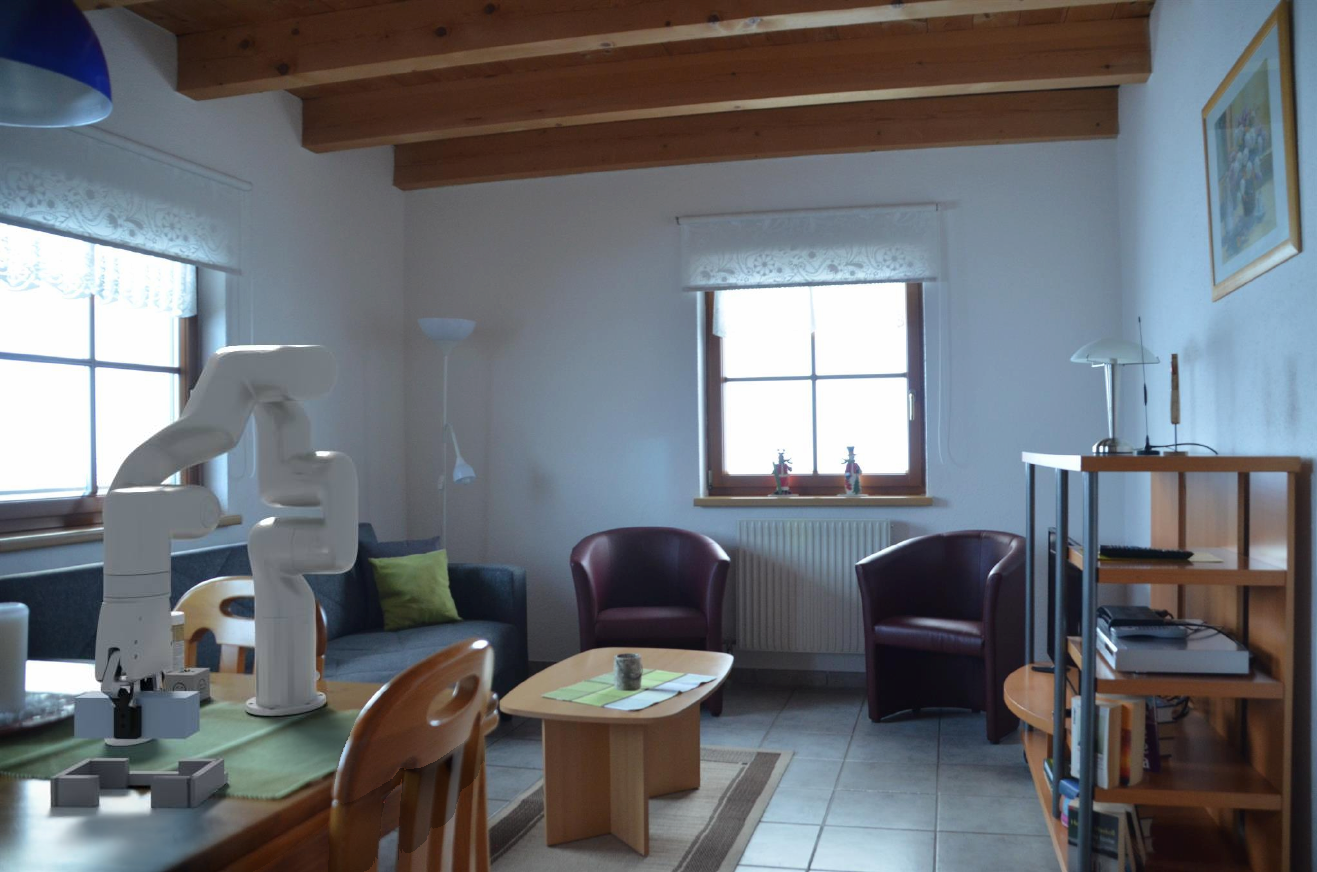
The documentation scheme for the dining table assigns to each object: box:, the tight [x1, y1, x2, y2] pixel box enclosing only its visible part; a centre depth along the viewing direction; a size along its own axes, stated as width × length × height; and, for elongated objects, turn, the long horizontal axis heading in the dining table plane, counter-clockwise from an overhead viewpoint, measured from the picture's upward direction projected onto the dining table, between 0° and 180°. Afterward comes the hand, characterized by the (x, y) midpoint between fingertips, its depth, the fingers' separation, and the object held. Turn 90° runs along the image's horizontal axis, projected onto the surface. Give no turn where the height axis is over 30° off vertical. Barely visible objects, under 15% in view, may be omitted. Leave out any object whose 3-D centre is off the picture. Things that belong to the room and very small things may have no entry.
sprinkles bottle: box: [162, 611, 186, 691], centre depth 179 cm, size 5×5×14 cm
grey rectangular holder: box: [49, 757, 229, 809], centre depth 126 cm, size 8×18×4 cm, turn 88°
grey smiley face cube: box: [165, 667, 211, 702], centre depth 171 cm, size 5×5×5 cm
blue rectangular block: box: [73, 690, 201, 740], centre depth 125 cm, size 14×4×5 cm, turn 88°
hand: (137, 732), depth 125 cm, fingers closed on blue rectangular block, 3 cm apart
